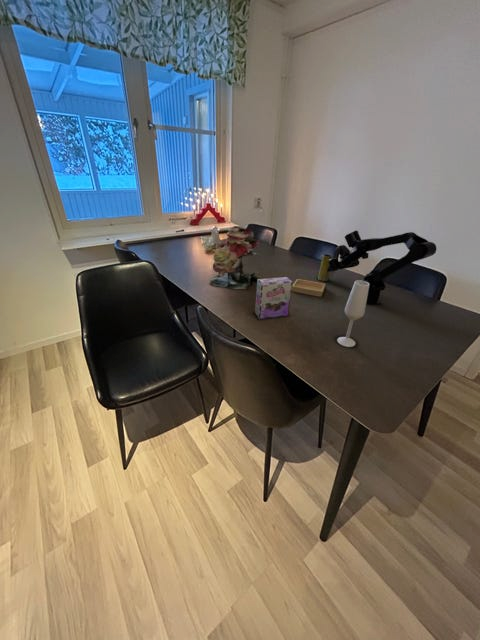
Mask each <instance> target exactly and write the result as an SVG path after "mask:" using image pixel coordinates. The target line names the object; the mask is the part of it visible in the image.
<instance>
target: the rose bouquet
mask: <svg viewBox="0 0 480 640" xmlns="http://www.w3.org/2000/svg"><path fill="white" fill-rule="evenodd" d="M227 231H228V232H226V235H227V238H222V239H220V240H221V241H220V243H219V244H218V246H217V247H215V248H214V249H215V252H213V257H212V258H213V261H214V262H213V264H212V270H213V271H214V272H216V273H218V274H217V276H216V277H213V278H210V279H209V282H210V285H212V286H214V287H221V288H229V289H231V290H247V289H248V287H249V285H252V284H253V282H251V279H254V280H257V279H262V278H259V277H258V276H256V275H255V274H256V272H253V273H247V274H245V273H244V266H245V265H246V264H243V260H242V259H243V257H251V256H258V257H259V256H261V254H260V253H258V252H253V251H254V249H255V248H256V247H257V246H259V245H260V240H259V239H254V240H253V238H254V235H255V234H254V232H253V231H251V230H249V229H246V228H244V227H241V225H233V227H230V228H228V230H227ZM220 274H223V275H220Z"/></svg>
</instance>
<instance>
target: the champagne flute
mask: <svg viewBox="0 0 480 640" xmlns="http://www.w3.org/2000/svg"><path fill="white" fill-rule="evenodd" d="M368 290H369V283H368V282H366V281H364V280H362V279H361V280H359V279H357V280H355V281H354V283H353V285H352V288H351V291H350V293H349V295H348V299H347V301H346V304H345V307H344V314H345V316H346V317H347V318H348V319H349V322H348V323H349V324H348V327H347V331H346V335H345V336H339V337H337V339H336V342H337V343H338V344H339V345H341V346H343V347H346V348H347V347H348V348H352V347H354V346H356V341H355V340H354V339H352V338H351V337H350V335H351V333H352V329H353V324H354V321H357V320H359V319H361V318H362V317H363V316H365V312H366V306H367V303H366V301H367V296H368Z"/></svg>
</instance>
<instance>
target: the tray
mask: <svg viewBox="0 0 480 640" xmlns="http://www.w3.org/2000/svg"><path fill="white" fill-rule="evenodd" d="M326 284H327V283H323V282H317V281H312V280H305V279H301V278H296V279H295V281H294V282H293V283H292V289H291V292H292V293H293V292H294V293H299V294H304V295H308V296H309V295H310V296H315V297H318V298H319V297H320V298H321V297H322V296H323V294H324V291H325V289H326V286H327V285H326Z"/></svg>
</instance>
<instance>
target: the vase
mask: <svg viewBox="0 0 480 640" xmlns="http://www.w3.org/2000/svg"><path fill="white" fill-rule="evenodd" d="M331 258H333V255H332V254H330V253H324V254H322V257H321V262H320V266H319V267H320V268H319V270H318V271H319V272H318V276H317V280H318V281H321V282H327V281H329V278H330V272H328V271H327V269H328V268H329V266H330V265H329V262H328V260H330V259H331Z"/></svg>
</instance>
